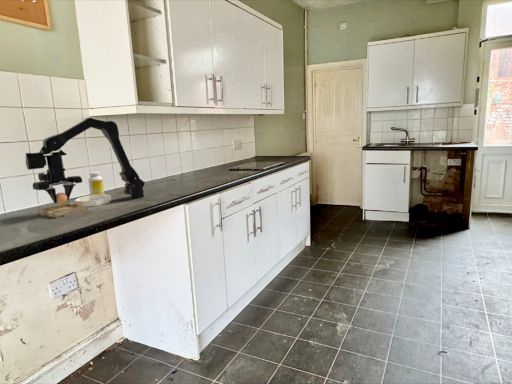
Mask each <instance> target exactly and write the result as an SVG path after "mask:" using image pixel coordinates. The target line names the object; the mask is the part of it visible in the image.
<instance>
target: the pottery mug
mask: <svg viewBox="0 0 512 384" xmlns="http://www.w3.org/2000/svg"><path fill="white" fill-rule="evenodd" d="M124 183H125V184H124V187H125V189H124V190H123V193H124V195H125V194H130V187H129V186H128V184H127V183H126V182H124Z"/></svg>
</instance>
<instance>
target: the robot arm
mask: <svg viewBox="0 0 512 384" xmlns="http://www.w3.org/2000/svg"><path fill="white" fill-rule="evenodd" d="M91 128H92V129H95V130H99V131H101V132H102V134H103V135H104V137H105V138H106V139H107V141H109V144H110V146H111V148H112V150H113V152H114V155H115V157H116V160H117V161H118V164H119V166H120V168H121V171H120V172H118V174H119V175H120V177H121V181H123V182H124V183H127V184H128V186H129V187H130V193H129V194H130V195H129V196H130V197H129V199H132V200H139V199H142V198H146V195H145V194H144V188H143V187H145V181H144V180H142V179H141V178H140V176H139V174H138V172H137V171H136V170H135V168H133V167H132V164H131V163H130V160H129V159H128V156H127V154H126V152H125V149H124V147H123V145H122V142H121V140H120V135H119V134H120V132H119V128H118V124H117V123H116V122H114V121H112V120H106V121H105V120H101V119H97V118H93V117H86V118H84V119H83V120H82V121H80V122H78V123H77V124H75V125H73V126H71V127H70V128H68V129H66V130H64V131H63V132H60V133H57V134H54V135H53V134H52V135H51V136H48V137H46V138H44V139H43V141H42V147H41V149H40V150H39V151H38V152H26V153H25V165H26V169H27V170H28V171H30V170H37V169H44V168H45V167H46V166H47V168H48V169H46V173H44V172H39V173H37V177H38V180H39V181H36V182H33V184H32V190H35V191H36V190H37V191H45V192H46V193H47V194H48V195H49V196H50V198H51V201H52V202H53V204H58V203H57V199H56V194H57V193H56V187H53V186H58V185H62V186H63V189H64V194H66V195H67V201H66V202H68V201H69V200H70V198H71V194H72V192H73V190H74V187H75V186H76V185H77V184H81V183H83V178H82V177H81V176H80V175H73V176H72V175H71V176H67V177H66V176H65V172H66V168H65V167H64V163H63V162H64V161H63V156H67V153H66V152H64V151H63V149H61V148H62V147H64V146H65V145H66V144H67V142H69V141H70V140H71V139H73V138H75V137H77V136H79V135H80V134H81V133H83V132H86V131H87V130H89V129H91Z"/></svg>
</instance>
